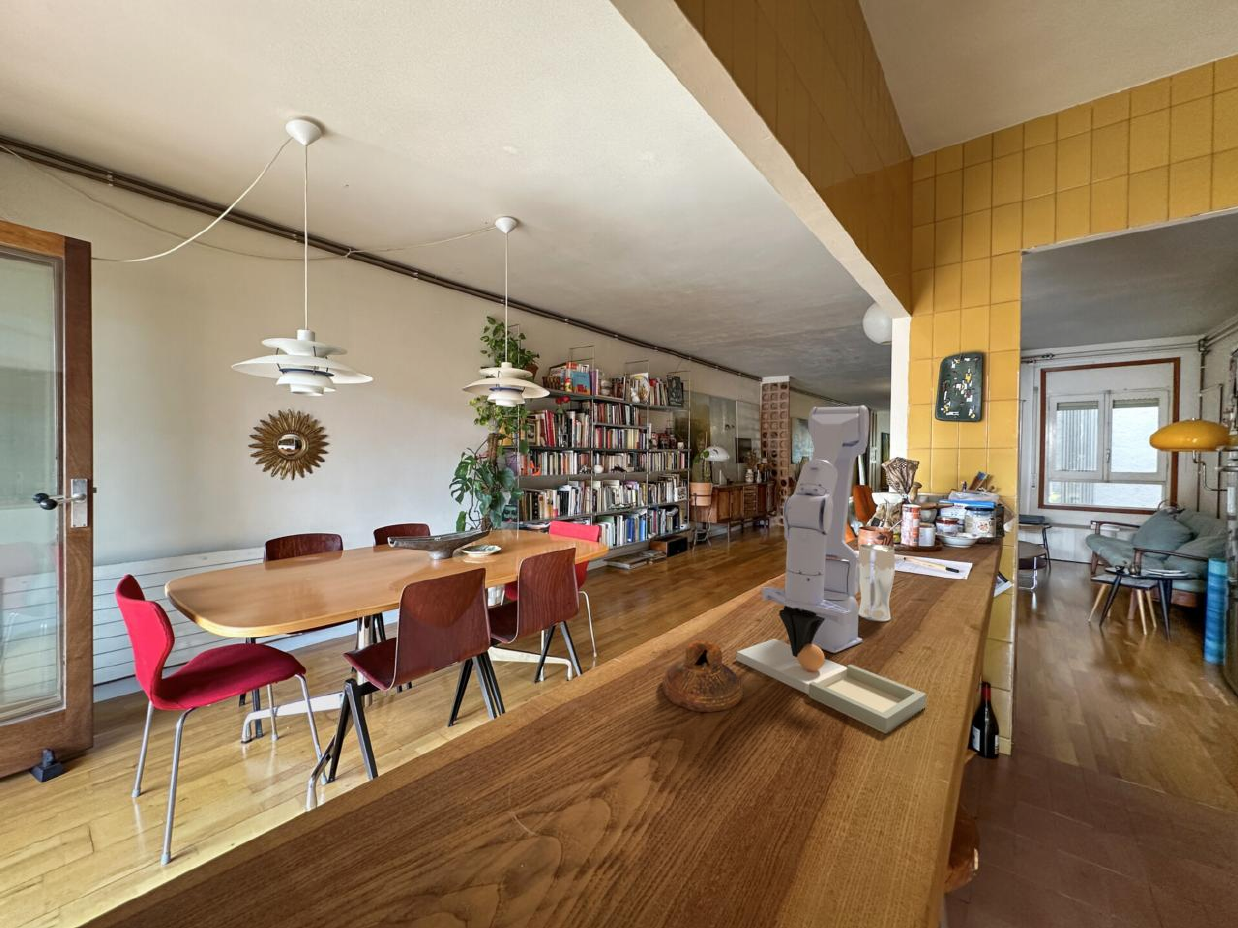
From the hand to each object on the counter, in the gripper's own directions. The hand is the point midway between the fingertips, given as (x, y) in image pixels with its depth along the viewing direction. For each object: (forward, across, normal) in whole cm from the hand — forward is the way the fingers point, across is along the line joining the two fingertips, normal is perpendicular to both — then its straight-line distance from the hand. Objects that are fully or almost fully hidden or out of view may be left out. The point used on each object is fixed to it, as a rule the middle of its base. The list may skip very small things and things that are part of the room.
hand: (801, 656), depth 78 cm
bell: (+4, -5, -16) cm, 18 cm away
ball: (0, +2, 0) cm, 2 cm away
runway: (+3, -2, +1) cm, 4 cm away
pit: (+3, +10, +1) cm, 11 cm away
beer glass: (+2, -8, +37) cm, 38 cm away
